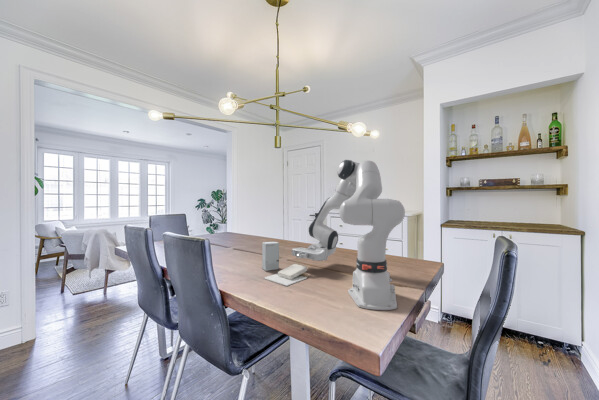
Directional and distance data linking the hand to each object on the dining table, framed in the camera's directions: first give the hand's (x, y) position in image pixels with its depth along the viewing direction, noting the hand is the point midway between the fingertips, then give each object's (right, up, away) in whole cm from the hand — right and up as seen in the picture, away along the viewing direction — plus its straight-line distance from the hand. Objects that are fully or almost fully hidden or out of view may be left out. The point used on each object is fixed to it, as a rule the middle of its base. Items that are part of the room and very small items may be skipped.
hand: (298, 256), depth 129 cm
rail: (-1, -9, -1) cm, 9 cm away
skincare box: (-15, -9, +10) cm, 20 cm away
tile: (+1, -6, +1) cm, 6 cm away
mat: (-6, -9, -7) cm, 13 cm away
